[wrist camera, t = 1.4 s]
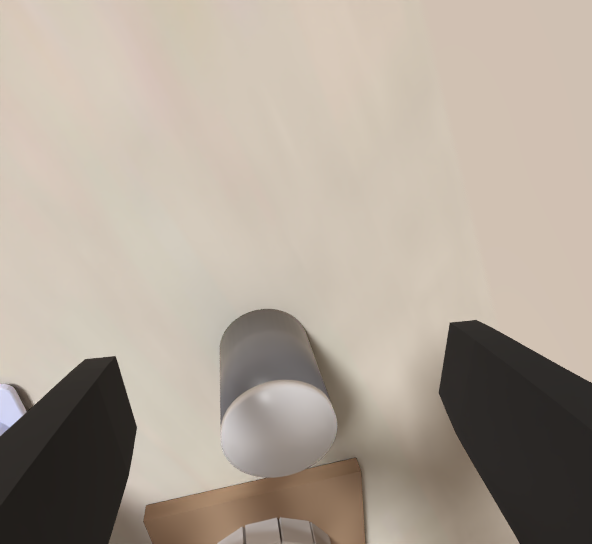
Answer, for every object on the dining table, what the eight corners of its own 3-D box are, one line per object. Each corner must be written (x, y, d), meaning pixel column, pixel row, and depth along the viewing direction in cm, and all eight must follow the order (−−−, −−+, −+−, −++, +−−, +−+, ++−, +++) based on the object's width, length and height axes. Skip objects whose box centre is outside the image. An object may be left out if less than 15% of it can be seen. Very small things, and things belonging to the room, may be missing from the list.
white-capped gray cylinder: (228, 390, 22) (232, 488, 17) (211, 318, 20) (210, 402, 15) (311, 373, 23) (340, 463, 17) (303, 301, 21) (333, 377, 15)
